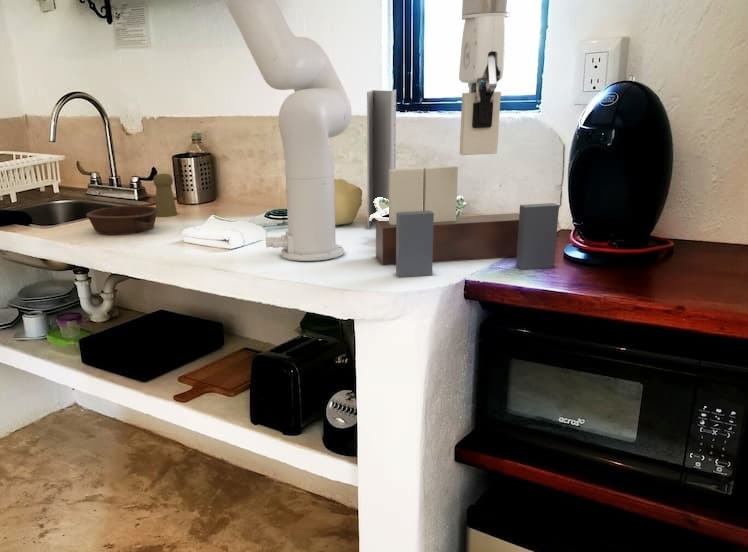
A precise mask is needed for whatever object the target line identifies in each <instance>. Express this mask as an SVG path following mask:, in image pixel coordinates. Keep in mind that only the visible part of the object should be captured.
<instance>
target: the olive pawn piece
mask: <svg viewBox="0 0 748 552" xmlns="http://www.w3.org/2000/svg"><path fill="white" fill-rule="evenodd" d="M152 181H153V184H154V186H155V207H156V208H158V212H157V214H156V217H159V218H161V217H162V218H165V217H166V218H167V217H173V216H177V215H178V210H177V206H176V202H175V197H174V192H173V189H172V186H173V181H174V180H173V177H172V175H171V174H170V173H158V174H155V175H154V176H153V180H152Z"/></svg>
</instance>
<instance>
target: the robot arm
mask: <svg viewBox="0 0 748 552" xmlns="http://www.w3.org/2000/svg"><path fill="white" fill-rule="evenodd" d="M223 1H224V3H225V6H226V8H227V10H228V12H229V14H230V15H231V17H232V19H233V21H234V22H235V24H236V26H237V28H238V29H239V32H240V34H241V36H242V38H243V40H244V43H245V44H246V47H247V49H248V50H249V53H250V54H251V57H252V58H253V60H254V63H255V64H256V66H257V68H258V71H259V73H260V74H261V77H262V78H263V80H264V82H265V83H266V85H268V86H269V87H270V88H272V89H275V90H280V91H290V90H293V92H292V93H291V94H289V95H288V96H287V97H286V98H285V99H284V100H283V102H282V104H281V105H280V108H279V111H278V127H279V133H280V138H281V143H282V149H283V156H284V157H283V158H284V169H285V170H284V173H285V175H284V176H285V189H286V190H285V192H286V212H287V213H286V214H287V230H286V231H285V234H281V235H280V236H278V237H277V236H276V237H275V236H269V237H268V236H267V237H265V246H266V247H265V248H272V249H277V248H282V249H281V250H280V251H281V252H280V253H281V257H282V258H284V259H286V260H290V261H297V262H298V261H300V262H318V261H327V260H331V259H335V258H339V257H341V256H342V255H344V252H345V251H344V247H343V246H342V245H340V244H336V243H337V241H336V225H335V193H334V179H335V163H334V155H333V150H332V146H331V144H330V143H331V142H330V139H332V138H335V137H337V136H339V135H341V134H342V133H344V132H345V131H346V130H347V128H348V126H349V125H350V122H351V119H352V106H351V102H350V99H349V96H348V94H347V92H346V90H345V88H344V86H343V84H342V82H341V80H340V78H339V76H338V74H337V72H336V70H335V68H334V66H333V64H332V62H331V60H330V58H329V56H328V54H327V52H326V51H325V50H324V48H323V47H322V46H321V45H320V44H319V43H318V42H317V41H315V40H313V39H312V38H309V37H305V36H297V35H295V34H294V33H293V31H292V29H291V28H290V26H289V25H288V23H287V21H286V19H285V16H284V14H283V12H282V10H281V9H280V7H279V5H278V4H277V2H276V1H275V0H223ZM510 12H511V0H462V5H461V20H464V24H463V30H462V38H461V46H460V48H461V49H460V59H459V60H460V61H459V71H458V79H459V81H460V82H461V83H464V84H467V87H468V93H476V103H473V120H472V127H473V128H489V127H491V126H492V114H493V101H494V92H495V90H496V88H497V87H498V82H499V81H500V80H502V78H503V77H504V76H503V75H504V67H505V53H506V52H505V50H506V49H505V47H506V18H509V17H510Z"/></svg>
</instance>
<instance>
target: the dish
mask: <svg viewBox="0 0 748 552" xmlns="http://www.w3.org/2000/svg"><path fill="white" fill-rule="evenodd" d="M157 212H158V208H156V206H148V205H120V206H112V207H104V208H102V207H101V208H98V209H94V210H92V211H89V212H87V213H86V214H85V216H86V218H87V219H88V220H89V221H90V223H91V225H92V228H93V229H94V230H95V231H96V232H97V233H100V234H105V235H125V234H134V233H141V232H144V231H151V230H153V229H154V228H155V223H156V219H157V216H156V214H157Z"/></svg>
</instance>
